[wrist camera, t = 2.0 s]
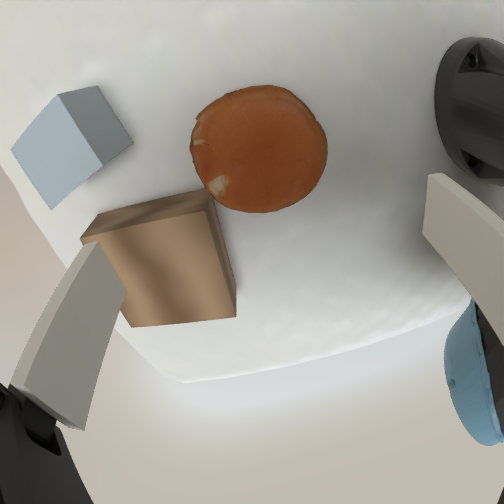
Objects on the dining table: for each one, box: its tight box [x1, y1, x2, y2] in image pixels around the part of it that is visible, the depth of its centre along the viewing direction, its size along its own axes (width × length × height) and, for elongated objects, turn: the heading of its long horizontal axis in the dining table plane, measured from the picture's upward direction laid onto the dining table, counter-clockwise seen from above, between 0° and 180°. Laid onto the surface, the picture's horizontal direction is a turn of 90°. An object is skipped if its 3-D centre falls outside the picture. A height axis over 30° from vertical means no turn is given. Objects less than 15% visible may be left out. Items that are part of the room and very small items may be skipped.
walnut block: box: [80, 189, 236, 328], centre depth 25 cm, size 11×11×4 cm
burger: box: [190, 85, 328, 213], centre depth 19 cm, size 10×9×5 cm
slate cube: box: [11, 86, 133, 210], centre depth 17 cm, size 6×6×6 cm
